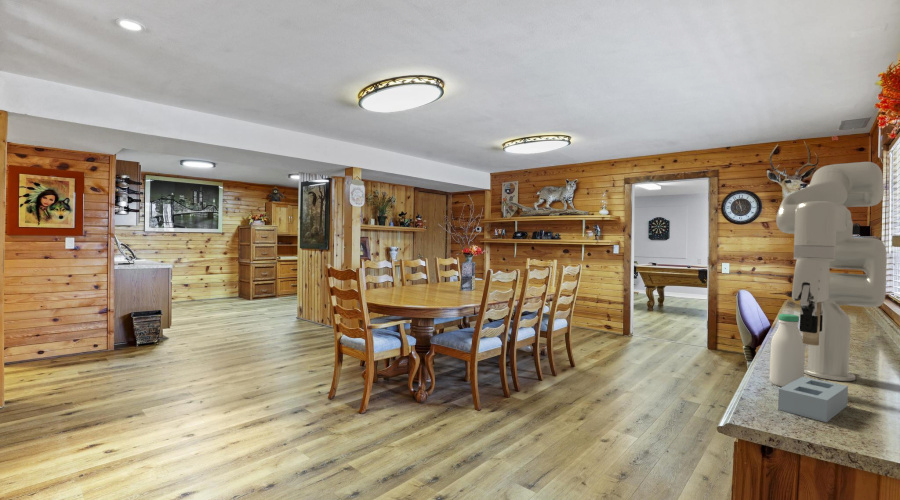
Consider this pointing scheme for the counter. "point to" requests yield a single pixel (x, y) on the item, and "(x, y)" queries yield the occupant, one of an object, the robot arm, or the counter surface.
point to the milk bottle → (787, 352)
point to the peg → (813, 337)
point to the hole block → (813, 398)
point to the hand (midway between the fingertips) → (810, 330)
